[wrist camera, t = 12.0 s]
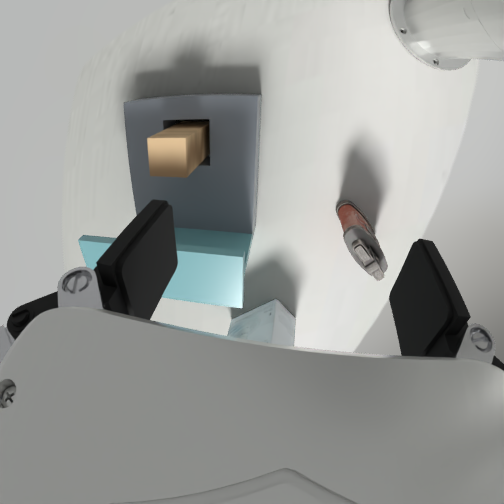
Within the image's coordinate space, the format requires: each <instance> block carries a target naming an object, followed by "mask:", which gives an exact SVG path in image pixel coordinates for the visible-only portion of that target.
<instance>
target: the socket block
mask: <svg viewBox="0 0 504 504" xmlns="http://www.w3.org/2000/svg"><path fill="white" fill-rule="evenodd" d="M124 115H125V128H126V139H127V149H128V158H129V166H130V174H131V181H132V188H133V195H134V201H135V207H136V213H137V215H138V214H139V213H140V212H141V211H142V210H143V209H144V208H145V206H146V205H147V204H148V203H149V202H150V201H151V200H153V199H155V200H166V201H167V202H168V204H169V205H172V208H173V219H174V230H175V239H176V249H177V257H178V265H177V269H176V271H175V273H174V274H173V276H172V278H171V280H170V282H169V284H168V286H167V287H166V289H165V291H164V293H163V295H162V297H163V298H169V299H176V300H183V301H190V302H197V303H204V304H211V305H219V306H227V307H235V308H242V307H243V302H244V275H245V270H246V266H247V261H248V257H249V253H250V248H251V244H252V239H253V235H254V231H255V226H256V207H257V184H258V162H259V139H260V116H261V95H257V94H194V95H176V96H163V97H153V98H143V99H137V100H133V101H128V102H124ZM183 119H210V156H207V157H206V158H205V159H204V160H203V161H202V162H201V163H200V164H199V165H198V166H197V167H196V168H195V169H194V171H193V172H192V173H191V174H190V175H189V176H188V177H187V178H183V177H160V176H150V170H149V157H148V142H147V138H149V137H151V136H153V135H155V134H157V133H159V132H161V131H163V130H165V129H167V128H169V127H171V126H173V125H175V124H176V120H183ZM115 240H116V238H110V237H99V236H89V235H83V236H82V237H81V238H80V239H79V240H78V241H79V245H80V248H81V251H82V254H83V257H84V260H85V263H86V266H87V267H88V268H91V269H92V270H94V268H95V267H96V266H97V264H96V262H97V261H98V260H99V258H100V257H101V256H102V255H103V254H104V252H105V251H106V250H107V249H108V248H109V247H110V245H111V244H112V243H113V242H114V241H115Z"/></svg>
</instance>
